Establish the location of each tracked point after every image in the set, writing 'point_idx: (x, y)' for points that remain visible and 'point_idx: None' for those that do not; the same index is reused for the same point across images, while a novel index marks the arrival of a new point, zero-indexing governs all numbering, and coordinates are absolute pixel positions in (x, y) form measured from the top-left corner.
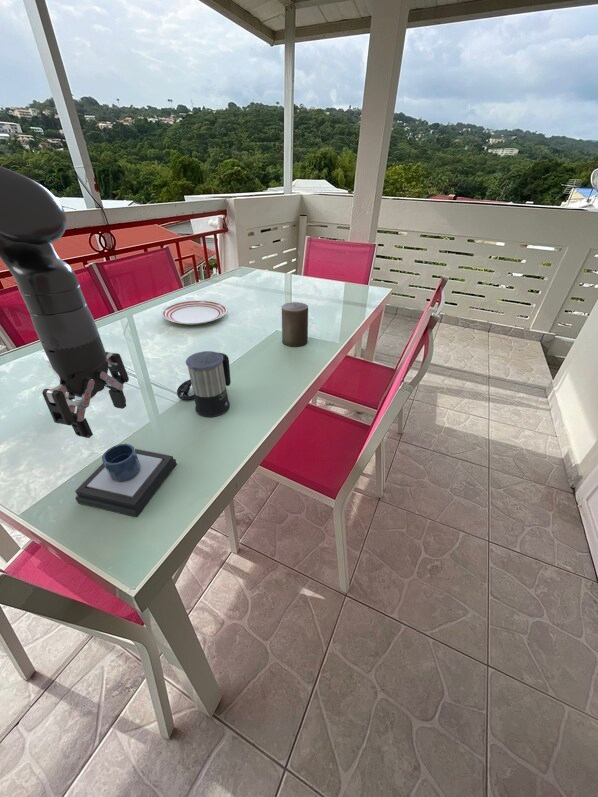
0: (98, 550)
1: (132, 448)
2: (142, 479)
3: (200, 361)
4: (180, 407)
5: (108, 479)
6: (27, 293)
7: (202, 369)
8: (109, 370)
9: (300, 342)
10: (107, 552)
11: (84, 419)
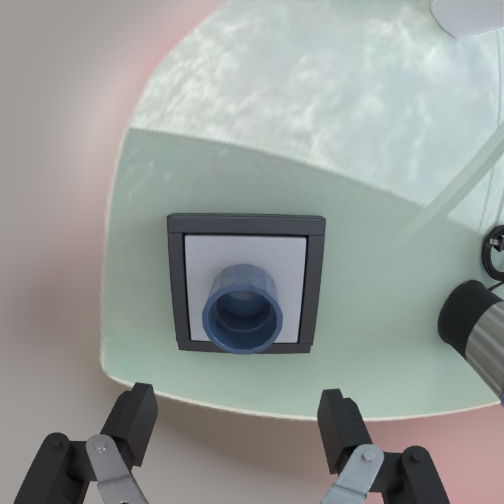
0: (117, 310)
1: (268, 342)
2: None
3: None
4: (466, 248)
5: (214, 270)
6: None
7: (502, 394)
8: (415, 501)
9: None
10: (120, 324)
11: (134, 465)
